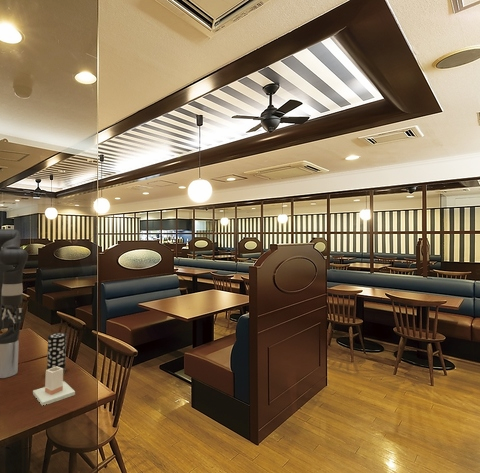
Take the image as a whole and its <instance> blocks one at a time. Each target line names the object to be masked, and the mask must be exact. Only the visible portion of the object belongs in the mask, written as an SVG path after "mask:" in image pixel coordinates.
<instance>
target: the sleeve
mask: <svg viewBox="0 0 480 473" xmlns="http://www.w3.org/2000/svg"><path fill="white" fill-rule="evenodd" d="M44 380H45V381H44V387H45V392H46V393H48V394H50V395H53V394H55V393H57V392H60V391H62V390H63V381H64V374H63V368H60V367H58V366H56V367H53V368H50V369H48V370H47V369H46V370H45V378H44Z"/></svg>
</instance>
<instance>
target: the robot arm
mask: <svg viewBox="0 0 480 473" xmlns="http://www.w3.org/2000/svg"><path fill="white" fill-rule="evenodd" d="M28 258H29V253H28V251H27V250H25V249H24V248H21V234H20V231H19V230H18V229H12V228H0V331H1V330H5V329H7V330H6V331H5V332H3V333H1V334H0V379H5V378H9V377H13V376H15V375H17V374H18V371H19V370H18V368H19V364H18V363H19V340H20V332H21V331H20V328H21V322H23V321H24V308H23V307H20V305H21V304H22V303H23V295H24V294H23V291H24V290H23V289H24V288H23V286H24V285H23V276H24V274H23V272H24V270H25V265H26V264H27V261H28ZM15 265H17V266H16V267H14V266H15Z"/></svg>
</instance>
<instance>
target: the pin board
mask: <svg viewBox="0 0 480 473" xmlns="http://www.w3.org/2000/svg"><path fill="white" fill-rule="evenodd" d="M32 395H33V396H34V398H35V399H36V398H37V399H36V400H37V401H38V403H39V402H40V403H39V404H40V406H42V407H44V406H47V405H49V404H52V403H56V402H58V401H62V400H64V399H67V398H70V397H72V396H75V395H76V391H75V390H74V388H72V387H71V386H70V385H69V384H68V383H67V382H66V381H65V380H63V390H62V391H60V392H57V393H55V394H53V395H50V394H48V393H46V392H45V386H43V387H41V388H37V389H33V390H32ZM46 404H47V405H46ZM43 405H44V406H43Z"/></svg>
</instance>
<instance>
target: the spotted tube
mask: <svg viewBox="0 0 480 473" xmlns="http://www.w3.org/2000/svg"><path fill="white" fill-rule="evenodd" d="M66 354H67V333H66V332H56V333H52V334H50V335H48V336H47V353H46V355H47V356H46V357H47V359H46V370H48V369H50V368H53V367H56V366H58V367H60V368H63V375H64V374H65V373H66V362H67V361H66V357H67V355H66Z"/></svg>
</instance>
